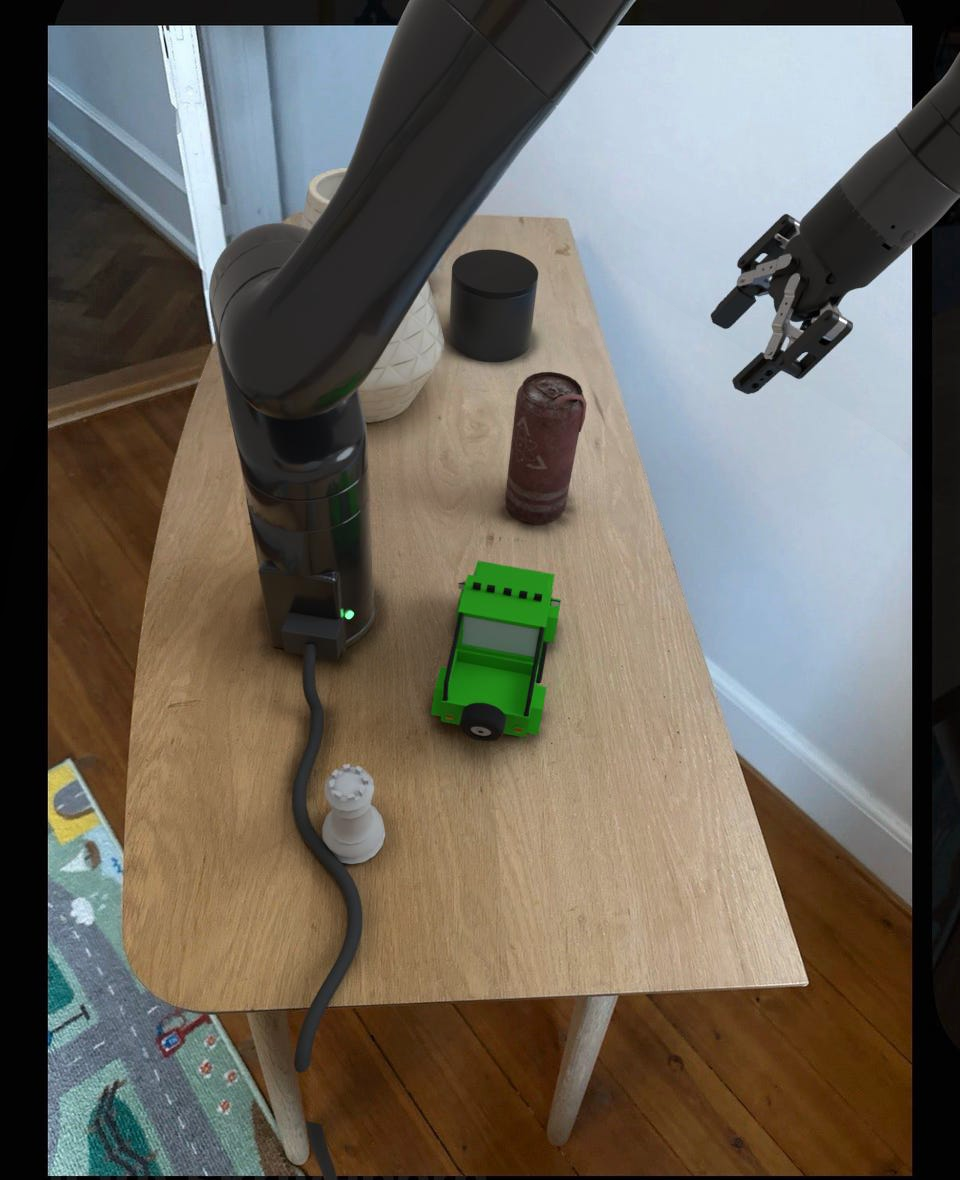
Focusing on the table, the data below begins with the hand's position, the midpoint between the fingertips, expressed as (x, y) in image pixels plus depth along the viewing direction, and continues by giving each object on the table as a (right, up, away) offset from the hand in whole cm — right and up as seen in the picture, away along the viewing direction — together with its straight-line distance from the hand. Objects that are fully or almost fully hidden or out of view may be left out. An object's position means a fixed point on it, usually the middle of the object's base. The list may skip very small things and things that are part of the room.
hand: (728, 355), depth 79 cm
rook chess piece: (-31, -39, -16) cm, 52 cm away
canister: (-21, +10, +29) cm, 37 cm away
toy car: (-21, -29, -5) cm, 36 cm away
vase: (-35, +1, +20) cm, 41 cm away
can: (-17, -13, +9) cm, 23 cm away
